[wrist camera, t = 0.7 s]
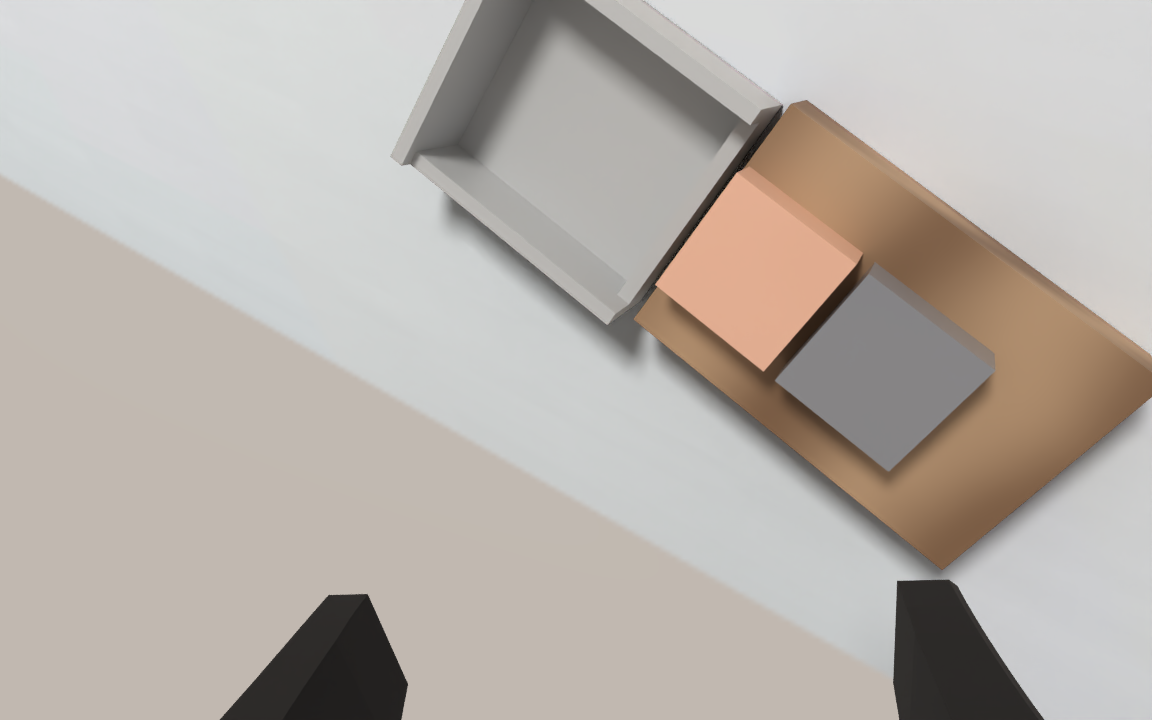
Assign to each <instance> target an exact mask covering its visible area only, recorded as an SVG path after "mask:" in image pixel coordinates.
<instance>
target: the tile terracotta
mask: <svg viewBox="0 0 1152 720" xmlns="http://www.w3.org/2000/svg"><path fill="white" fill-rule="evenodd" d="M862 254H863V253H862V252H861V251H860V250H859V249H857V248H856V247H855V246H853V245H852V244H851V243H849V242H848V241H847V240H845V239H844V238H843V237H841V236H840V235H839V234H838V233H836V232H835V231H834V230H832V229H831V228H830V227H828V226H827V225H826V224H824V223H823V222H822V221H820V220H819V219H818V218H817V217H815V216H814V215H813V214H811V213H810V212H809V211H807V210H806V209H805V208H803V207H802V206H801V205H800V204H798V203H797V202H796V201H794V200H793V199H792V198H790V197H789V196H788V195H786V194H785V193H784V192H782V191H781V190H780V189H779V188H777V187H776V186H775V185H773V184H772V183H771V182H769V181H768V180H767V179H765V178H764V177H763V176H761V175H760V174H759V173H758V172H756V171H755V170H754V169H752V168H751V167H750V166H749V167H747V168H745V169H743V170H741V171H739V172H737V173H736V174H735V176H734V177H733V178H732V180H731V181H730V182H729V184H728V185H727V187H726V188H725V189H724V191H723V192H722V193H721V195H720V196H719V198H718V199H717V200H716V202H715V203H714V204H713V206H712V207H711V209H710V210H709V211H708V213H707V214H706V215H705V217H704V218H703V220H702V221H701V222H700V224H699V225H698V226H697V228H696V229H695V231H694V232H693V233H692V235H691V236H690V237H689V239H688V240H687V242H686V243H685V244H684V246H683V247H682V248H681V250H680V251H679V252H678V254H677V255H676V257H675V258H674V259H673V261H672V262H671V263H670V265H669V266H668V268H667V269H666V270H665V272H664V273H663V274H662V276H661V277H660V279H659V280H658V281H657V283H656V284H655V285H656V286H657V287H658V288H660V289H661V290H662V291H663V292H665V293H666V294H667V295H668V296H670V297H671V298H672V299H673V300H675V301H676V302H677V303H678V304H680V305H681V306H682V307H683V308H685V309H686V310H687V311H688V312H690V313H691V314H692V315H693V316H695V317H696V318H697V319H698V320H700V321H701V322H702V323H703V324H705V325H706V326H707V327H708V328H710V329H711V330H712V331H713V332H715V333H716V334H717V335H718V336H720V337H721V338H722V339H723V340H725V341H726V342H727V343H728V344H730V345H731V346H732V347H733V348H735V349H736V350H737V351H738V352H740V353H741V354H742V355H743V356H745V357H746V358H747V359H748V360H750V361H751V362H752V363H753V364H755V365H756V366H757V367H758V368H760V369H761V370H762V371H763V372H764V371H765V369H766V368H767V367H768V366H769V365H770V364H771V362H772V361H773V360H774V359H775V358H776V357H777V356H778V354H779V353H780V352H781V351H782V350H783V349H784V348H785V346H786V345H787V344H788V343H789V342H790V341H791V339H792V338H793V337H794V336H795V335H796V334H797V333H798V331H799V330H800V329H801V328H802V327H803V326H804V325H805V323H806V322H807V321H808V320H809V319H810V318H811V316H812V315H813V314H814V313H815V312H816V311H817V310H818V308H819V307H820V306H821V305H822V304H823V303H824V301H825V300H826V299H827V298H828V297H829V296H830V295H831V293H832V292H833V291H834V290H835V289H836V288H837V287H838V285H839V284H840V283H841V282H842V281H843V280H844V278H845V277H846V276H847V275H848V274H849V273H850V272H851V270H852V269H853V268H854V267H855V266H856V265H857V263H858V261H859V260H860V258H861V256H862Z"/></svg>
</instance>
